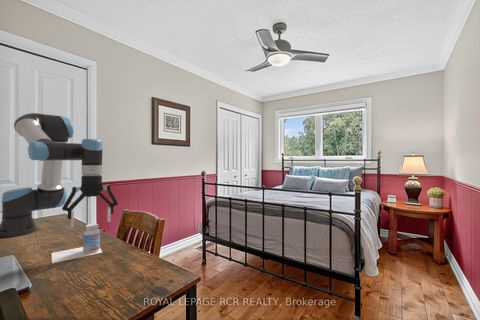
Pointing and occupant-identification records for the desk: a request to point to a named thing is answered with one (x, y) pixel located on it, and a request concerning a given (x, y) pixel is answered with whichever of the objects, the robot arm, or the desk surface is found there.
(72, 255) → the paper
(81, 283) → the desk surface
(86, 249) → the pill bottle
